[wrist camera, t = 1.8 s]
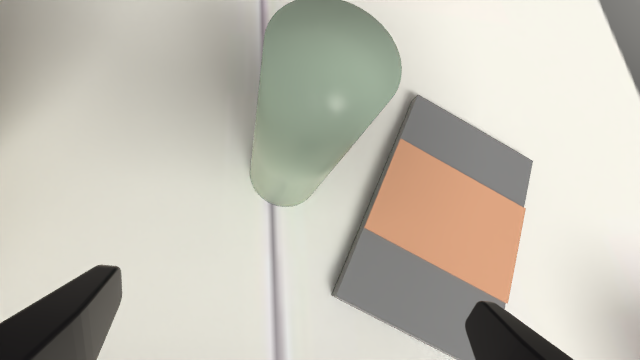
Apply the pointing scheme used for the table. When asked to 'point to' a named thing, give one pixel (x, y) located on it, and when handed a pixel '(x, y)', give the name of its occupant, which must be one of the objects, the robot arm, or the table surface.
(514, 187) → the grey orange flat block
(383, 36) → the green cylinder
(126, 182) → the table surface
